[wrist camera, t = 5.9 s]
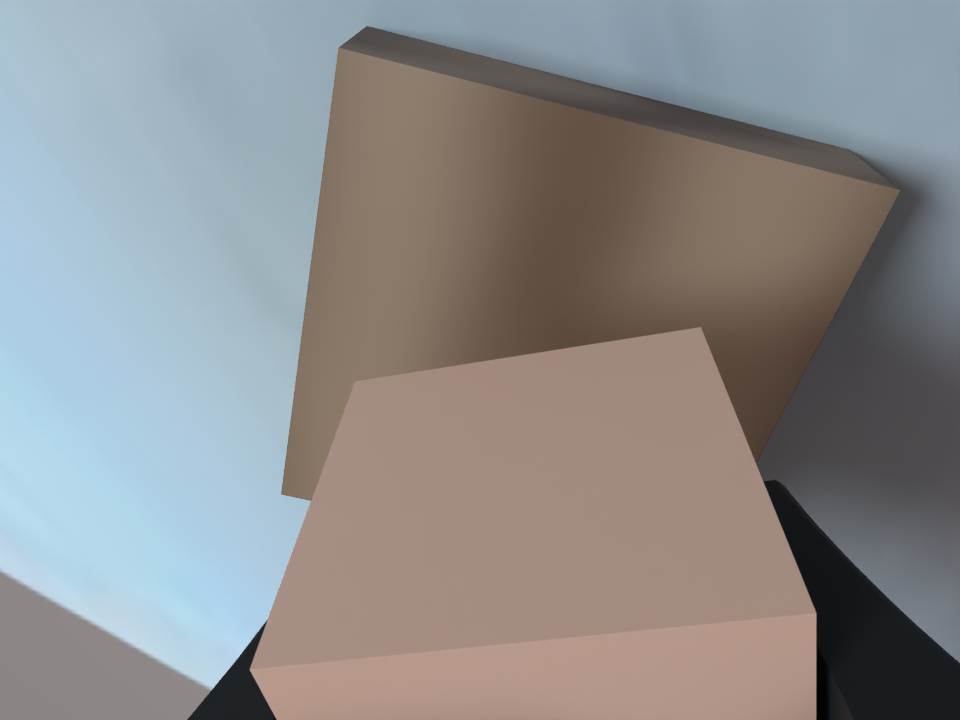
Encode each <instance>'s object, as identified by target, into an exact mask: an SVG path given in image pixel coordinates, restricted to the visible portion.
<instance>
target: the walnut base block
mask: <svg viewBox="0 0 960 720" xmlns="http://www.w3.org/2000/svg"><path fill="white" fill-rule="evenodd" d="M900 191H901V190H900V189H898V188H897V187H896V186H895V185H893V184H892V183H891V182H889V181H888V180H887V179H886V178H884V177H883V176H882V175H881V174H879V173H878V172H877V171H875V170H874V169H873V168H872V167H870V166H869V165H868V164H867V163H865V162H864V161H863V160H861V159H860V158H859V157H858V156H856V155H855V154H854V153H853V152H851V151H850V150H848V149H844V148H840V147H836V146H833V145H829V144H825V143H821V142H817V141H813V140H809V139H805V138H801V137H797V136H793V135H790V134H786V133H782V132H778V131H774V130H770V129H766V128H762V127H758V126H754V125H750V124H747V123H743V122H739V121H735V120H731V119H727V118H723V117H719V116H715V115H711V114H708V113H704V112H700V111H696V110H692V109H688V108H684V107H680V106H676V105H672V104H668V103H665V102H661V101H657V100H653V99H649V98H645V97H641V96H637V95H633V94H629V93H625V92H622V91H618V90H614V89H610V88H606V87H602V86H598V85H594V84H590V83H586V82H583V81H579V80H575V79H571V78H567V77H563V76H559V75H555V74H551V73H547V72H543V71H540V70H536V69H532V68H528V67H524V66H520V65H516V64H512V63H508V62H504V61H500V60H497V59H493V58H489V57H485V56H481V55H477V54H473V53H469V52H465V51H461V50H457V49H454V48H450V47H446V46H442V45H438V44H434V43H430V42H426V41H422V40H418V39H415V38H411V37H407V36H403V35H399V34H395V33H391V32H387V31H383V30H379V29H375V28H372V27H368V26H367V27H365V28H364V29H363V30H361V31H360V32H359V33H357V34H356V35H355V36H353V37H352V38H351V39H349V40H348V41H347V42H346V43H344V44H343V45H342V46H340V47H339V49H338V57H337V64H336V72H335V80H334V88H333V95H332V103H331V111H330V119H329V127H328V134H327V142H326V150H325V158H324V166H323V173H322V181H321V189H320V197H319V204H318V212H317V220H316V228H315V236H314V243H313V251H312V259H311V267H310V275H309V282H308V290H307V298H306V306H305V313H304V321H303V329H302V337H301V345H300V352H299V360H298V368H297V376H296V383H295V391H294V399H293V407H292V415H291V422H290V430H289V438H288V446H287V454H286V461H285V469H284V477H283V485H282V492H281V494H282V495H287V496H291V497H296V498H301V499H305V500H310V501H311V500H312V498H313V495H314V492H315V489H316V487H317V484H318V481H319V478H320V476H321V473H322V470H323V468H324V465H325V462H326V459H327V457H328V454H329V451H330V448H331V446H332V443H333V440H334V437H335V435H336V432H337V429H338V427H339V424H340V421H341V418H342V416H343V413H344V410H345V407H346V405H347V402H348V399H349V396H350V394H351V391H352V388H353V386H354V383H355V381H361V380H368V379H374V378H380V377H387V376H393V375H399V374H406V373H412V372H418V371H425V370H431V369H438V368H444V367H450V366H457V365H463V364H469V363H476V362H482V361H488V360H495V359H501V358H507V357H514V356H520V355H527V354H533V353H539V352H546V351H552V350H558V349H565V348H571V347H577V346H584V345H590V344H597V343H603V342H609V341H616V340H622V339H628V338H635V337H641V336H647V335H654V334H660V333H666V332H673V331H679V330H686V329H692V328H698V327H701V329H702V331H703V334H704V336H705V339H706V341H707V344H708V346H709V348H710V351H711V353H712V356H713V358H714V361H715V363H716V366H717V368H718V371H719V373H720V376H721V378H722V381H723V383H724V386H725V388H726V391H727V393H728V395H729V398H730V400H731V403H732V405H733V408H734V410H735V413H736V415H737V418H738V420H739V423H740V425H741V428H742V430H743V433H744V435H745V438H746V440H747V443H748V445H749V447H750V450H751V452H752V455H753V457H754V460H755V462H757V460H758V458H759V456H760V454H761V453H762V451H763V449H764V447H765V445H766V443H767V441H768V439H769V437H770V436H771V434H772V432H773V430H774V428H775V426H776V424H777V422H778V420H779V419H780V417H781V415H782V413H783V411H784V409H785V407H786V405H787V404H788V402H789V400H790V398H791V396H792V394H793V392H794V390H795V388H796V387H797V385H798V383H799V381H800V379H801V377H802V375H803V373H804V372H805V370H806V368H807V366H808V364H809V362H810V360H811V358H812V356H813V355H814V353H815V351H816V349H817V347H818V345H819V343H820V341H821V340H822V338H823V336H824V334H825V332H826V330H827V328H828V326H829V324H830V323H831V321H832V319H833V317H834V315H835V313H836V311H837V309H838V307H839V306H840V304H841V302H842V300H843V298H844V296H845V294H846V292H847V291H848V289H849V287H850V285H851V283H852V281H853V279H854V277H855V275H856V274H857V272H858V270H859V268H860V266H861V264H862V262H863V260H864V259H865V257H866V255H867V253H868V251H869V249H870V247H871V245H872V243H873V242H874V240H875V238H876V236H877V234H878V232H879V230H880V228H881V227H882V225H883V223H884V221H885V219H886V217H887V215H888V213H889V211H890V210H891V208H892V206H893V204H894V202H895V200H896V198H897V196H898V195H899V193H900Z"/></svg>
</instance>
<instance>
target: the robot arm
mask: <svg viewBox="0 0 960 720" xmlns="http://www.w3.org/2000/svg"><path fill="white" fill-rule="evenodd" d="M764 485H765V487H766V490H767V492H768V494H769V497H770V499H771V502H772V504H773V507H774V509H775V512H776V514H777V517H778V519H779V522H780V524H781V527H782V529H783V532H784V534H785V537H786V539H787V541H788V544H789V546H790V549H791V551H792V554H793V556H794V559H795V561H796V564H797V566H798V569H799V571H800V574H801V576H802V579H803V581H804V584H805V586H806V589H807V591H808V593H809V596H810V598H811V601H812V603H813V606H814V608H815V611H816V720H960V663H959V662H958V661H957V660H955V659H954V658H953V657H952V656H951V655H950V654H948V653H947V652H946V651H945V650H944V649H943V648H942V647H941V646H939V645H938V644H937V643H936V642H935V641H934V640H933V639H932V638H930V637H929V636H928V635H927V634H926V633H925V632H924V631H923V630H921V629H920V628H919V627H918V626H917V625H916V624H915V623H914V622H913V621H912V620H911V619H909V618H908V617H907V616H906V615H905V614H904V613H903V612H902V611H901V610H900V609H899V608H898V607H897V606H896V605H894V604H893V603H892V602H891V601H890V600H889V599H888V598H887V597H886V596H885V595H884V594H883V593H882V592H881V591H880V590H879V589H878V588H877V587H876V586H875V585H874V584H873V583H872V582H871V581H870V580H869V579H868V578H867V577H866V576H865V575H864V574H863V573H862V572H861V571H860V570H859V569H858V568H857V567H856V566H855V565H854V564H853V563H852V562H851V561H850V560H849V559H848V558H847V557H846V556H845V555H844V554H843V553H842V551H841V550H840V549H839V548H838V547H837V546H836V545H835V544H834V543H833V542H832V541H831V540H830V539H829V537H828V536H827V535H826V534H825V533H824V532H823V531H822V530H821V529H820V528H819V526H818V525H817V524H816V523H815V522H814V521H813V520H812V519H811V517H810V516H809V515H808V514H807V513H806V512H805V510H804V509H803V508H802V507H801V506H800V505H799V503H798V502H797V501H796V500H795V499H794V497H793V496H792V495H791V494H790V492H789V491H788V490H787V489H786V487H785V486H784V485H782V484H781V483H779V482H778V481H776V480H772V481H764ZM267 621H268V620H267ZM267 621H266V622H265V624H264V625H263V626H262V628H261V629H260V630H259V632H258V633H257V634H256V635H255V637H254V638H253V639H252V641H251V642H250V643H249V645H248V646H247V647H246V649H245V650H244V651H243V652H242V654H241V655H240V656H239V658H238V659H237V660H236V661H235V663H234V664H233V665H232V666H231V668H230V669H229V670H228V671H227V673H226V674H225V675H224V676H223V677H222V679H221V680H220V681H219V682H218V683H217V685H216V686H215V687H214V688H213V689H212V691H211V692H210V693H209V695H207V697H206V698H205V699H204V700H203V702H202V703H201V704H200V705H199V706H198V708H197V709H196V710H195V711H194V712H193V714H192V715H191V716H190V717H189V718H188V719H187V720H277V719H276V718H275V716H274V714H273V712H272V710H271V708H270V706H269V705H268V703H267V701H266V699H265V697H264V695H263V694H262V692H261V690H260V688H259V686H258V684H257V682H256V681H255V679H254V677H253V675H252V673H251V671H250V667H251V664H252V662H253V659H254V656H255V653H256V651H257V648H258V645H259V642H260V640H261V637H262V634H263V631H264V629H265V626H266V623H267Z"/></svg>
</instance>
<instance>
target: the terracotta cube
mask: <svg viewBox="0 0 960 720" xmlns="http://www.w3.org/2000/svg"><path fill="white" fill-rule="evenodd" d="M250 671H251V673H252V675H253V677H254V679H255V681H256V682H257V684H258V686H259V688H260V690H261V692H262V694H263V695H264V697H265V699H266V701H267V703H268V705H269V706H270V708H271V710H272V712H273V714H274V716H275V718H276V719H277V720H816V611H815V608H814V606H813V603H812V601H811V598H810V596H809V593H808V591H807V589H806V586H805V584H804V581H803V579H802V576H801V574H800V571H799V569H798V566H797V564H796V561H795V559H794V556H793V554H792V551H791V549H790V546H789V544H788V541H787V539H786V537H785V534H784V532H783V529H782V527H781V524H780V522H779V519H778V517H777V514H776V512H775V509H774V507H773V504H772V502H771V499H770V497H769V494H768V492H767V490H766V487H765V485H764V482H763V480H762V477H761V475H760V472H759V470H758V467H757V465H756V462H755V460H754V457H753V455H752V452H751V450H750V447H749V445H748V443H747V440H746V438H745V435H744V433H743V430H742V428H741V425H740V423H739V420H738V418H737V415H736V413H735V410H734V408H733V405H732V403H731V400H730V398H729V395H728V393H727V391H726V388H725V386H724V383H723V381H722V378H721V376H720V373H719V371H718V368H717V366H716V363H715V361H714V358H713V356H712V353H711V351H710V348H709V346H708V344H707V341H706V339H705V336H704V334H703V331H702V329H701V327H698V328H692V329H686V330H679V331H673V332H666V333H660V334H654V335H647V336H641V337H635V338H628V339H622V340H616V341H609V342H603V343H597V344H590V345H584V346H577V347H571V348H565V349H558V350H552V351H546V352H539V353H533V354H527V355H520V356H514V357H507V358H501V359H495V360H488V361H482V362H476V363H469V364H463V365H457V366H450V367H444V368H438V369H431V370H425V371H418V372H412V373H406V374H399V375H393V376H387V377H380V378H374V379H368V380H361V381H355V383H354V386H353V388H352V391H351V394H350V396H349V399H348V402H347V405H346V407H345V410H344V413H343V416H342V418H341V421H340V424H339V427H338V429H337V432H336V435H335V437H334V440H333V443H332V446H331V448H330V451H329V454H328V457H327V459H326V462H325V465H324V468H323V470H322V473H321V476H320V478H319V481H318V484H317V487H316V489H315V492H314V495H313V498H312V500H311V503H310V506H309V509H308V511H307V514H306V517H305V519H304V522H303V525H302V528H301V530H300V533H299V536H298V539H297V541H296V544H295V547H294V549H293V552H292V555H291V558H290V560H289V563H288V566H287V569H286V571H285V574H284V577H283V580H282V582H281V585H280V588H279V590H278V593H277V596H276V599H275V601H274V604H273V607H272V610H271V612H270V615H269V618H268V621H267V623H266V626H265V629H264V631H263V634H262V637H261V640H260V642H259V645H258V648H257V651H256V653H255V656H254V659H253V662H252V664H251V667H250Z"/></svg>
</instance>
